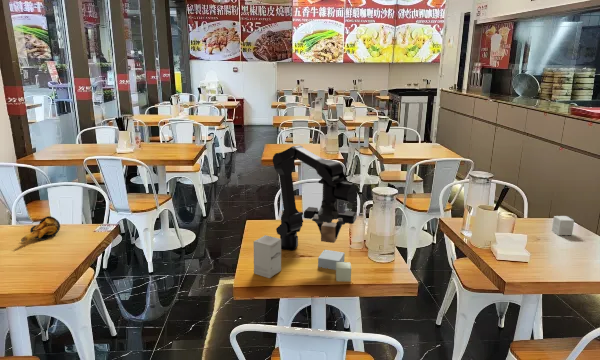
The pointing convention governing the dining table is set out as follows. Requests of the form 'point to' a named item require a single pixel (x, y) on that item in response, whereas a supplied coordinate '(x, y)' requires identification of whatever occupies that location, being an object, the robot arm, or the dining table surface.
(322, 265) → the slate plinth
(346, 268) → the sage block
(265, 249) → the supplement box
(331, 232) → the walnut block
